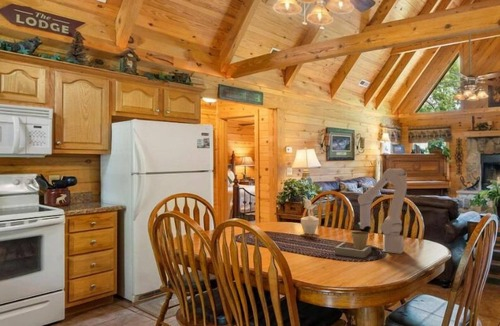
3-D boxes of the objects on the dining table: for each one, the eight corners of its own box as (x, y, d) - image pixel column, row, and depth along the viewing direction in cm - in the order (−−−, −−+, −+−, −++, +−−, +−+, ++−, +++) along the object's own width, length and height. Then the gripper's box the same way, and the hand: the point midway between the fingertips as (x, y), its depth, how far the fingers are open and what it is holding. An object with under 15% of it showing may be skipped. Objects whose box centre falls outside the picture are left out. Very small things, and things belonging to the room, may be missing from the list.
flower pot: (349, 249, 204) (349, 233, 204) (352, 245, 213) (352, 230, 212) (366, 251, 200) (366, 235, 200) (370, 247, 208) (370, 232, 208)
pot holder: (371, 252, 198) (371, 245, 198) (363, 258, 187) (363, 251, 187) (343, 248, 206) (343, 242, 206) (334, 254, 195) (334, 247, 195)
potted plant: (297, 232, 250) (297, 194, 249) (312, 231, 255) (312, 194, 254) (308, 236, 238) (308, 196, 238) (323, 234, 243) (323, 195, 243)
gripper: (361, 213, 223) (361, 236, 223) (354, 216, 211) (354, 241, 211) (374, 214, 219) (373, 237, 220) (367, 218, 207) (367, 242, 207)
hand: (365, 239), depth 215 cm, fingers closed
